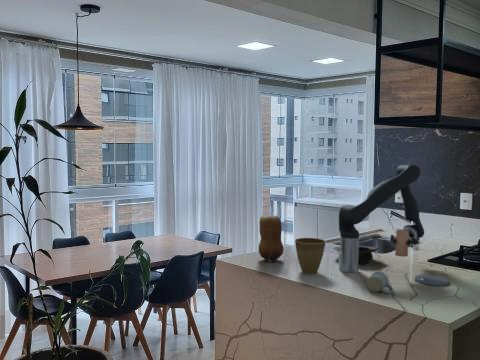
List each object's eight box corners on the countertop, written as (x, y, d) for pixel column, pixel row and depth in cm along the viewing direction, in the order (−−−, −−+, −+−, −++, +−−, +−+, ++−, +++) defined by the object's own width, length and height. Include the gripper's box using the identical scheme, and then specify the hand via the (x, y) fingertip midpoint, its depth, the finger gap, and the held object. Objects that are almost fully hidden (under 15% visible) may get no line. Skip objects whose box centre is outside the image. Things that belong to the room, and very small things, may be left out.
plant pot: (330, 272, 233) (331, 241, 232) (311, 278, 224) (311, 245, 222) (307, 266, 245) (308, 236, 243) (288, 271, 235) (288, 239, 233)
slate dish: (419, 285, 215) (419, 282, 215) (411, 276, 230) (411, 273, 230) (453, 286, 213) (453, 284, 213) (442, 277, 228) (443, 274, 228)
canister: (396, 256, 223) (397, 231, 222) (394, 253, 228) (395, 229, 227) (408, 256, 222) (410, 231, 221) (405, 254, 228) (407, 229, 227)
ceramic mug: (365, 291, 205) (366, 274, 205) (371, 286, 212) (372, 269, 212) (389, 296, 200) (390, 278, 199) (395, 291, 207) (396, 274, 206)
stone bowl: (368, 268, 241) (368, 251, 240) (324, 264, 256) (324, 247, 255) (386, 258, 260) (385, 242, 260) (344, 255, 276) (343, 239, 275)
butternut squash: (266, 256, 264) (267, 212, 262) (287, 259, 257) (288, 214, 255) (253, 261, 253) (254, 215, 251) (274, 265, 246) (275, 218, 243)
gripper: (393, 227, 240) (385, 233, 226) (423, 230, 233) (417, 236, 219) (392, 242, 241) (385, 248, 226) (422, 245, 234) (416, 252, 219)
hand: (401, 242), depth 223 cm, fingers closed on canister, 5 cm apart
